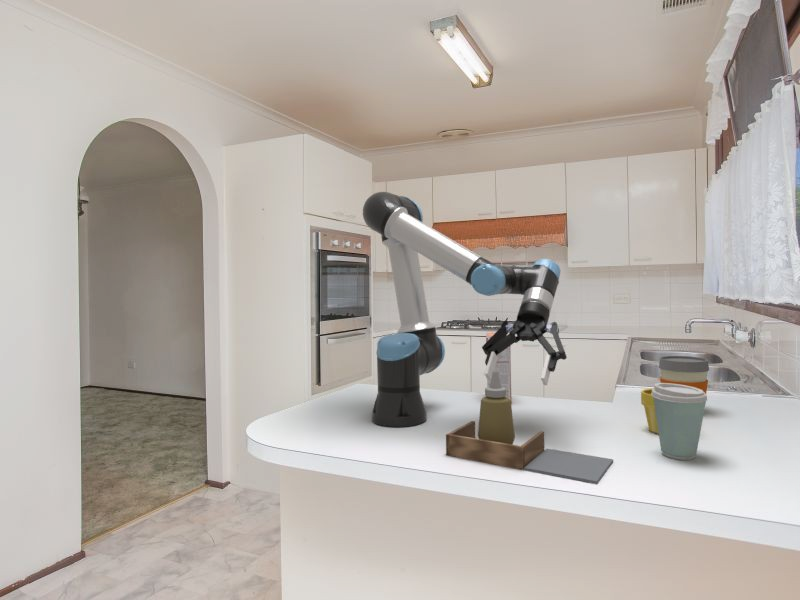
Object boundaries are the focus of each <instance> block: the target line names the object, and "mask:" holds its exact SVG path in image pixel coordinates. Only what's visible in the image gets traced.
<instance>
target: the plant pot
mask: <svg viewBox="0 0 800 600" xmlns="http://www.w3.org/2000/svg"><path fill="white" fill-rule="evenodd" d="M652 389H653V388H645V389H644V388H643V389H642V390H641V391H640V401H641V402H640V403H641V405H642V406H643V408H644V413H645V418H646V421H647V426H648V427H647V428H648V431H650V432H651V433H654V434H657V435H659V433H658V426H657V419H656V412H655V405H654V398H653V396H652V395H651V393H652Z"/></svg>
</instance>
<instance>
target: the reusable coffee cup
mask: <svg viewBox="0 0 800 600" xmlns="http://www.w3.org/2000/svg"><path fill="white" fill-rule="evenodd" d="M709 365H710V364H709V360H708V358H704V357H698V356H688V355H687V356H686V355H666V356H664V355H663V356H660V357H659V362H658V369H659V370H660V377H659V383H672V384H680V385H686V386H691V387H695V388H698V389H701V390H703V392H705V394H706V395H707V390H708V385H709V380H708V378H707V377H708V373H709V371H710V366H709Z"/></svg>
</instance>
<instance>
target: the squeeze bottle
mask: <svg viewBox="0 0 800 600" xmlns="http://www.w3.org/2000/svg"><path fill="white" fill-rule="evenodd" d="M505 396H506V388H504V387H501V382H500V378H499V373H498V372H493V373H492V378H491V383H490V387H487V386H486V387H485V388H484V397H483V398H481V399H480V409H479V417H478V429H477V437H478V438H477V439H482V440H488V441H494V442H500V443H506V444H512V445H514V441H515V438H516V436H515V425H514V417H513V409H512V404H511V400H510V399H509V398H507V397H505Z"/></svg>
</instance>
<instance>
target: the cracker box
mask: <svg viewBox="0 0 800 600" xmlns="http://www.w3.org/2000/svg"><path fill="white" fill-rule="evenodd" d="M495 333H496V332H488V333H487V332H486V333H485V343H486V342H487V341H488V340H489V339H490V338H491V337H492V336H493V335H494V334H495ZM511 347H512V345H511V346H509V347H508V348H506V349H505V350H504V351H502V352H501V353H499V354H498V355H497V358H498V359H497V362H496V365H495V368H494V371H493V372H498V373H499V378H500V382H501V387H504V388H506V396H505V397H507V398H509V399H510V400H511V405H512V399H513V398H512V365H511V364H512V363H511V361H512V360H511V358H512V357H511V355H512V354H511V353H512V351H511V349H512V348H511ZM490 383H491V380H487V379H486V385H487V386H486V387H490Z"/></svg>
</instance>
